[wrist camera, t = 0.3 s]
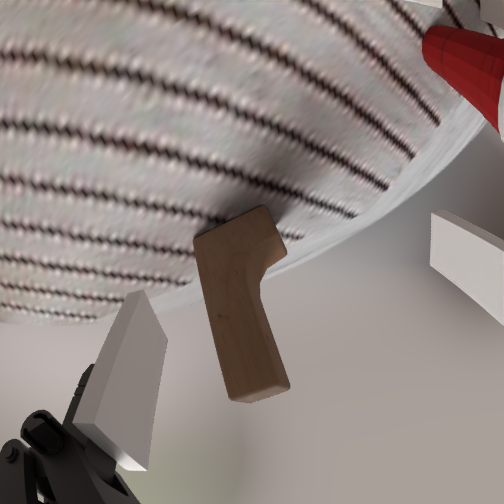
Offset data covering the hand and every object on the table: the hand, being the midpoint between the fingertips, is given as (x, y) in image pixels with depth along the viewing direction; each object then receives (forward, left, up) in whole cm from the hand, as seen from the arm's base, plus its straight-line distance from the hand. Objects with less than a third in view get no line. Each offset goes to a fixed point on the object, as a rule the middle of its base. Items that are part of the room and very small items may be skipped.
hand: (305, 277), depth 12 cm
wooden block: (+14, -2, -17) cm, 22 cm away
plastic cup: (-5, +24, -17) cm, 29 cm away
